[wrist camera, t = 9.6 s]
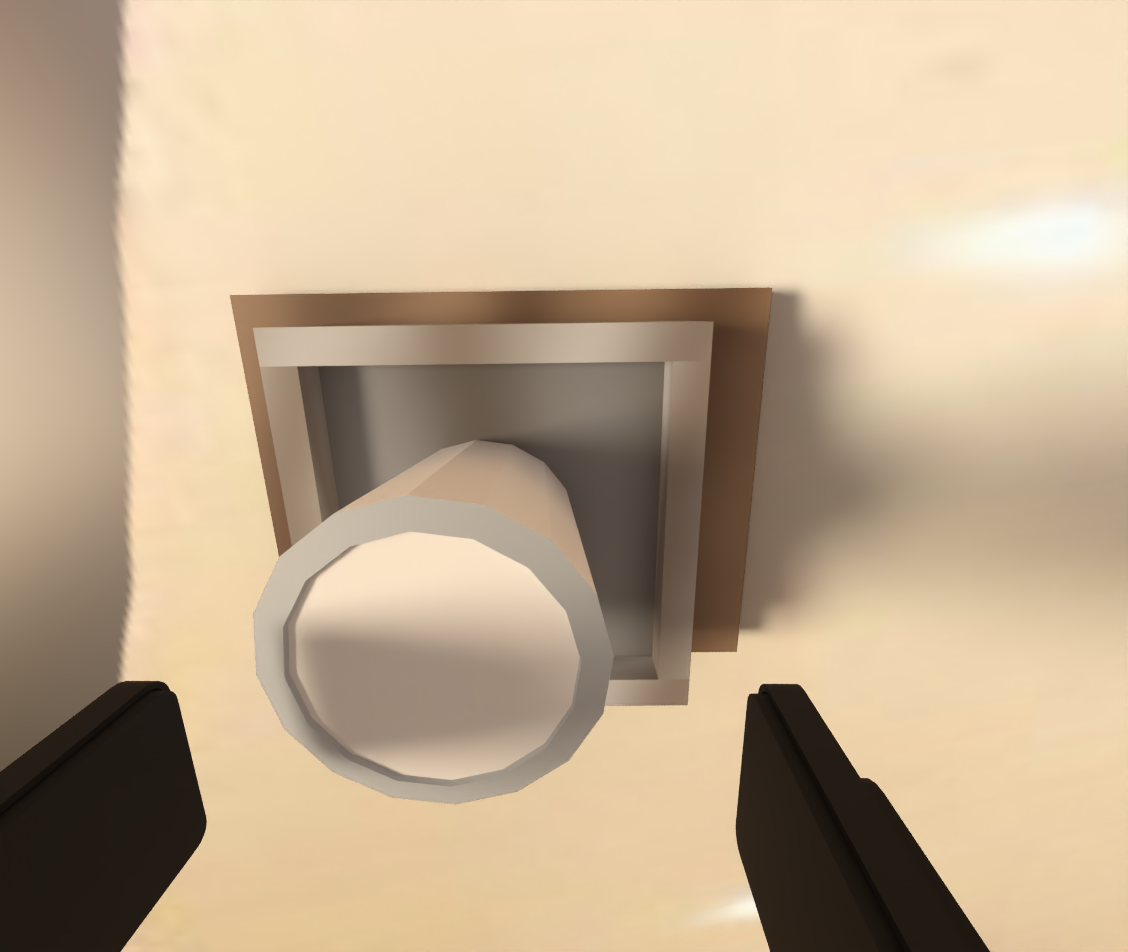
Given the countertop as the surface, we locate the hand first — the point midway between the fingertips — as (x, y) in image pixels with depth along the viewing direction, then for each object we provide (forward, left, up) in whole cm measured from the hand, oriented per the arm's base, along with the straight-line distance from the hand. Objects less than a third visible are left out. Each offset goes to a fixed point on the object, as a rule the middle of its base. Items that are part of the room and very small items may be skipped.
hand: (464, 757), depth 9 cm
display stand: (0, -1, -13) cm, 13 cm away
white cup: (+1, -1, -9) cm, 9 cm away
